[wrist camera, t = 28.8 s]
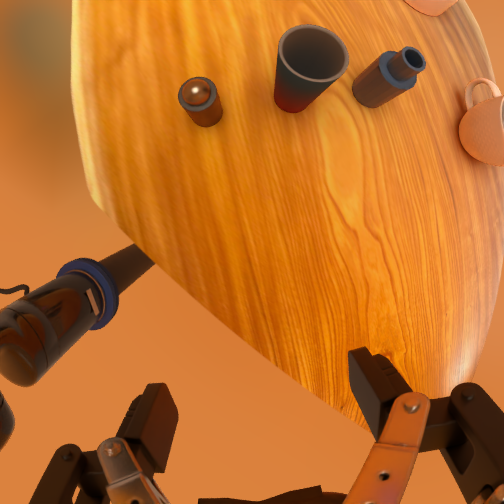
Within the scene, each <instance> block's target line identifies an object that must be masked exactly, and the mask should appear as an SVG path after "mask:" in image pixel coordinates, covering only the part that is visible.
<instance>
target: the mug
mask: <svg viewBox="0 0 504 504" xmlns="http://www.w3.org/2000/svg"><path fill="white" fill-rule="evenodd" d="M480 83H485V84H487V85H488V86H489V87H490V89H491V91H492V95H493V98H492V99H488V100H486V101H483V102H480V103H479V104H477V105H475V106H473V102H472V90H473V88H474V87H475V86H476V85H477V84H480ZM465 102H466V107H467V111H468V112H467V113H466V114H465V115H464V116H463V118H462V120H461V122H460V125H459V137H460V141H461V143H462V146H463V147H464V149H465V150H466V151H467V152H468V153H469V154H470V155H471V156H472V157H474V158H475V159H477V160H478V161H481V162H483V163H486V164H490V165H495V166H504V95H503V96H502V95H501V92H500V90H499V89H498V87H497V86H496V85H495V84H494V83H493V82H492V81H490V80H488V79H485V78H476V79H473V80H472V81H470V82H469V83H468V84H467V86H466V88H465Z"/></svg>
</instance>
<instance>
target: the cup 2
mask: <svg viewBox="0 0 504 504" xmlns="http://www.w3.org/2000/svg"><path fill="white" fill-rule="evenodd" d="M404 1H405V2H406V3H408V4H409V5H410V6H411V7H413V8H414V9H416V10H418V11H419V12H421V13H424V14H426V15H429V16H438V15H440V14H441V13H443V12H444V11H445V10H447V9H448V8H449V7H450V6H452V5H453V4H454V3H456V2H457V1H458V0H404Z"/></svg>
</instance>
